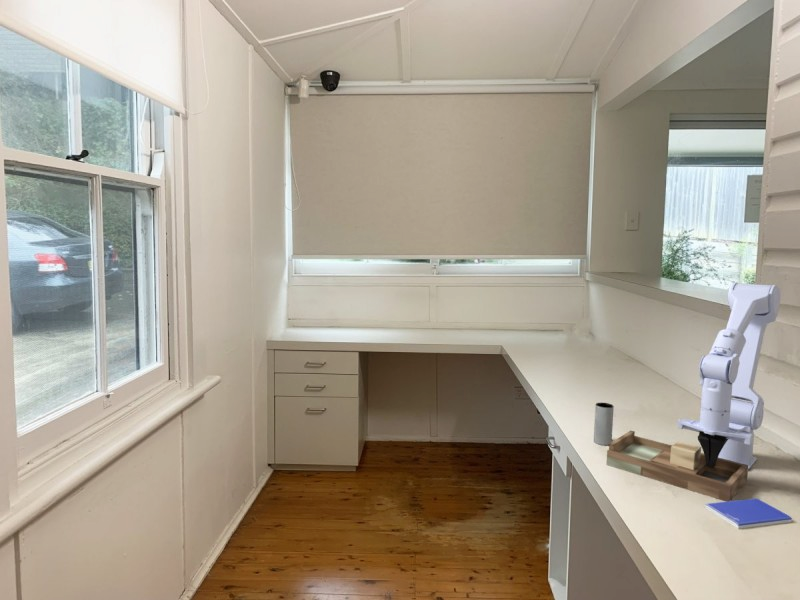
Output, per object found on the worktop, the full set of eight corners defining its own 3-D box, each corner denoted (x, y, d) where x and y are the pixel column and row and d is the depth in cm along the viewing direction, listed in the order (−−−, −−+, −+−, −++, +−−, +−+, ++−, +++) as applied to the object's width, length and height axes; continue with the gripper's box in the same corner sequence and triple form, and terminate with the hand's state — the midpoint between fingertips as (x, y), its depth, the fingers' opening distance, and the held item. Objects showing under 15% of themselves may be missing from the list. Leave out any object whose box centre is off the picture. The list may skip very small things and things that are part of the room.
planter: (593, 444, 143) (595, 406, 141) (593, 438, 147) (595, 401, 146) (611, 446, 141) (613, 408, 140) (611, 440, 145) (613, 403, 144)
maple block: (677, 457, 129) (678, 441, 129) (700, 463, 126) (701, 447, 125) (669, 463, 126) (671, 446, 125) (693, 469, 122) (694, 452, 122)
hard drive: (738, 523, 101) (792, 517, 104) (705, 502, 109) (755, 497, 112) (737, 531, 101) (791, 524, 104) (704, 510, 109) (754, 504, 112)
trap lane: (631, 448, 140) (632, 429, 139) (747, 480, 122) (748, 458, 121) (606, 464, 129) (607, 444, 129) (729, 502, 111) (731, 479, 111)
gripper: (674, 404, 123) (670, 461, 124) (748, 419, 113) (743, 481, 114) (684, 398, 128) (680, 453, 129) (756, 412, 118) (751, 471, 119)
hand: (710, 466), depth 122 cm, fingers closed
